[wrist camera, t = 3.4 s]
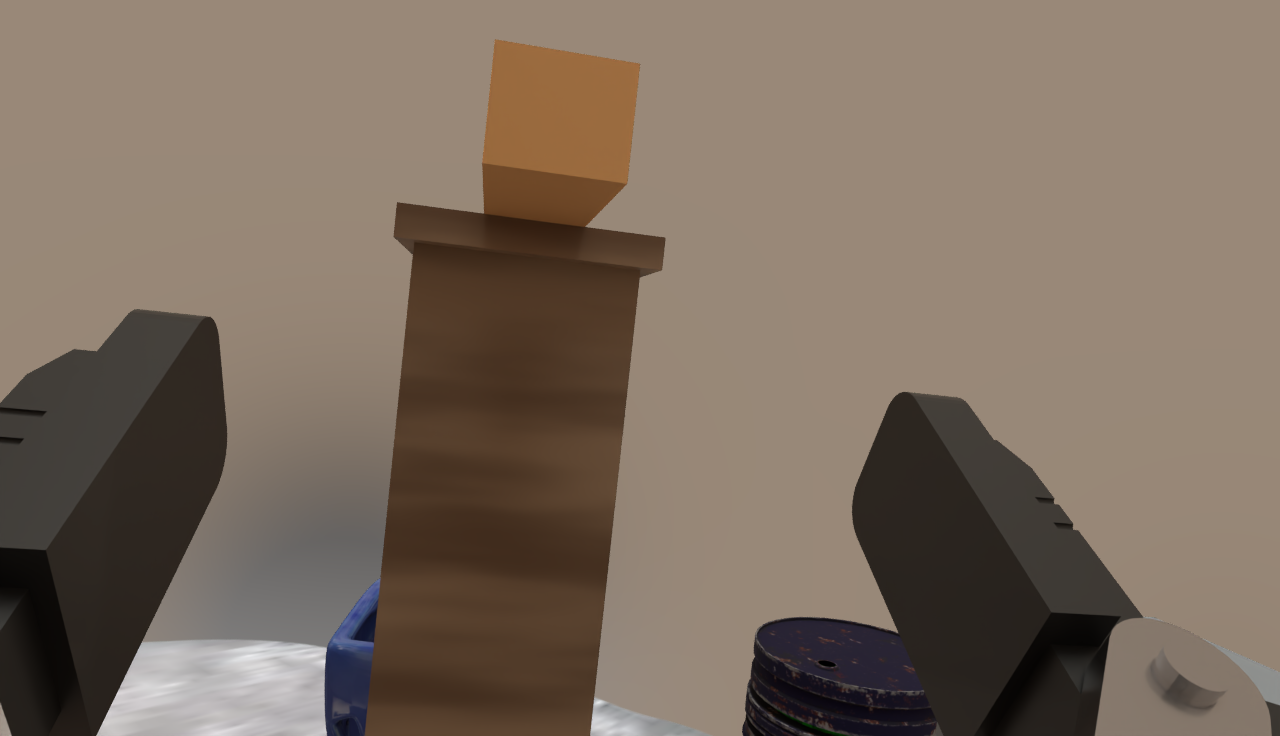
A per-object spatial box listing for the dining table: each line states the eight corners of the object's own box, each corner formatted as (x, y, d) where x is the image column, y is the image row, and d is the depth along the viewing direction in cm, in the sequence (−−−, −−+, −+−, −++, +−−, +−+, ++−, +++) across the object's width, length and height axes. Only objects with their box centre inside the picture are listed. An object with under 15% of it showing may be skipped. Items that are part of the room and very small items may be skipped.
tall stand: (587, 1240, 27) (697, 242, 26) (255, 1267, 26) (361, 197, 25) (557, 964, 39) (632, 267, 38) (329, 969, 37) (402, 239, 36)
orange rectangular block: (627, 183, 18) (640, 63, 18) (482, 163, 17) (495, 39, 17) (551, 261, 40) (557, 207, 39) (485, 253, 39) (491, 198, 39)
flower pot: (559, 762, 58) (577, 588, 57) (554, 888, 45) (578, 663, 44) (359, 748, 57) (377, 571, 56) (293, 873, 44) (316, 643, 43)
